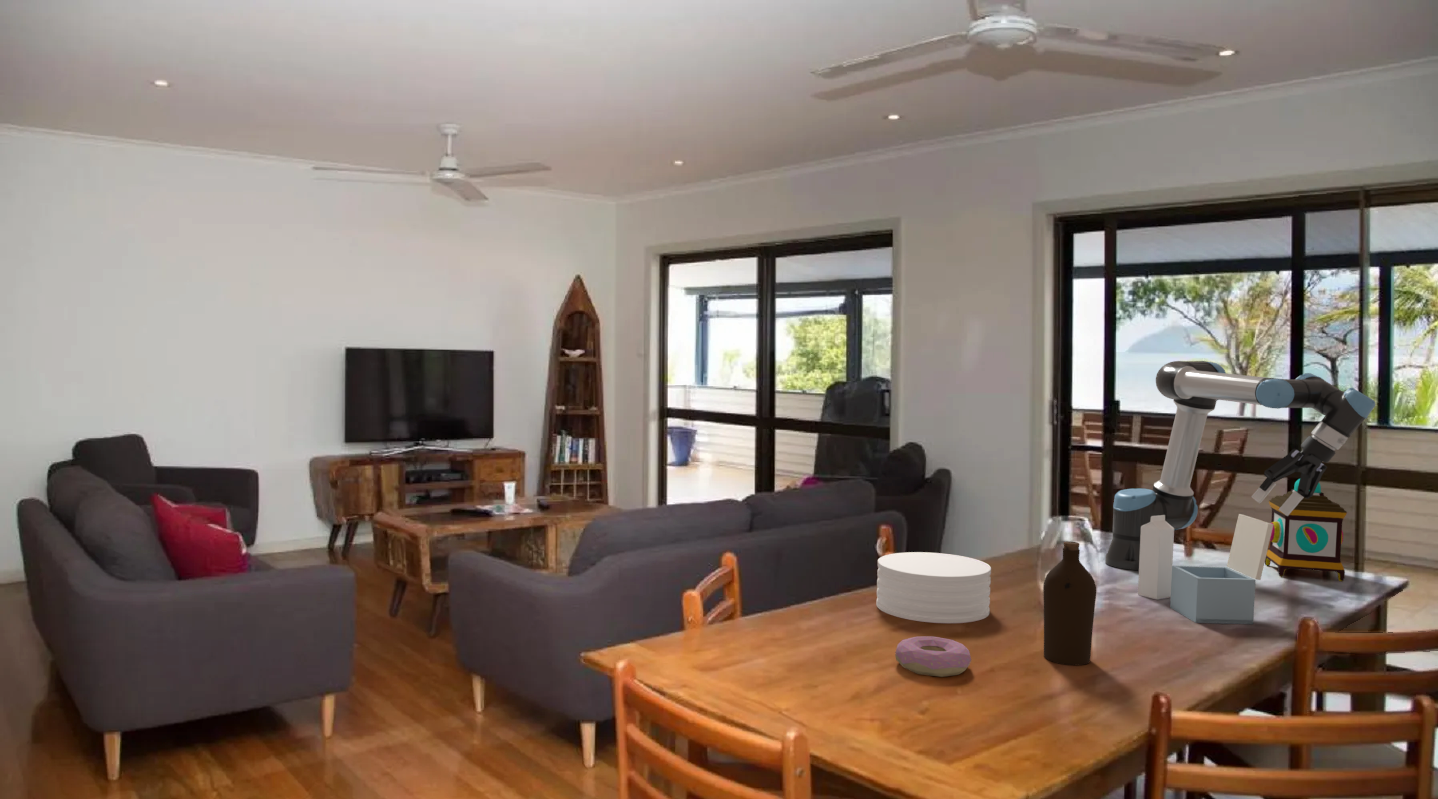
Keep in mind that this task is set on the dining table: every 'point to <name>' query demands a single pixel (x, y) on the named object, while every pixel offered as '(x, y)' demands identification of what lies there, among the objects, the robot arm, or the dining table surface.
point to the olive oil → (1069, 609)
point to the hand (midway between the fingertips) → (1269, 506)
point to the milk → (1156, 558)
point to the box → (1212, 594)
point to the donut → (933, 656)
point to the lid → (1249, 546)
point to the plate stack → (933, 587)
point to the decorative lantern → (1307, 534)
